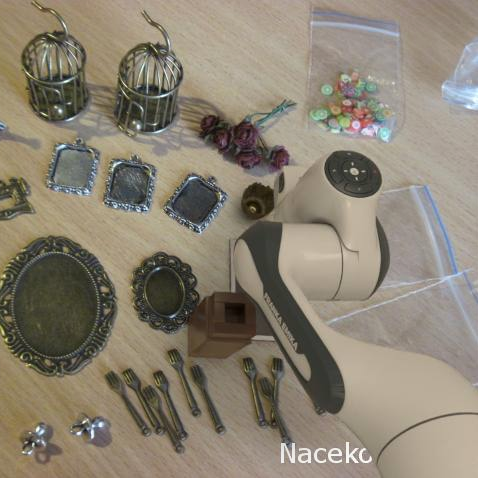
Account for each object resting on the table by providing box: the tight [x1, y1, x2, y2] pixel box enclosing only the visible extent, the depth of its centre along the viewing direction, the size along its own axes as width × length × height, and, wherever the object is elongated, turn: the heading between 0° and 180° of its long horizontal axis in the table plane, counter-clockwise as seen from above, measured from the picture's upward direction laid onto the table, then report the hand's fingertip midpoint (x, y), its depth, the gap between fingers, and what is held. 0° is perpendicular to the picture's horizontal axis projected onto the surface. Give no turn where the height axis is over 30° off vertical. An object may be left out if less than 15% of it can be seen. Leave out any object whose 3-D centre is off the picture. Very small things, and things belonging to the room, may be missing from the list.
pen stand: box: [187, 290, 257, 360], centre depth 102 cm, size 8×8×25 cm
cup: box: [240, 181, 274, 221], centre depth 121 cm, size 8×7×8 cm
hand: (276, 249), depth 92 cm, fingers closed
